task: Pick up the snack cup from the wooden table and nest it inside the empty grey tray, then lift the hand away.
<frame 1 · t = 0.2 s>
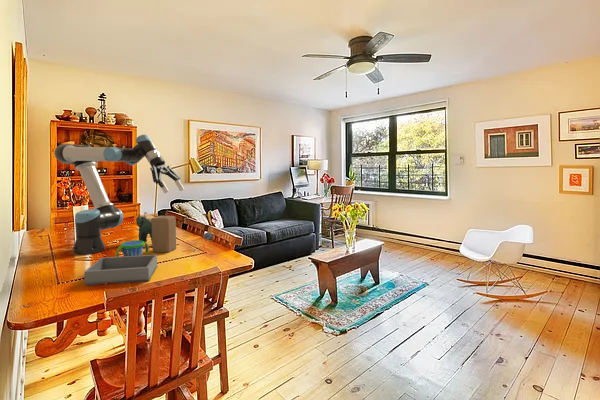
hand: (174, 191, 174), 35 cm above the table, tool tilted 35°, fingers open, 13 cm apart
snack cup: (133, 262, 158), on the table
grey tray: (124, 275, 139), on the table
wooden block: (164, 250, 181), on the table
green animal figurine: (149, 243, 196), on the table
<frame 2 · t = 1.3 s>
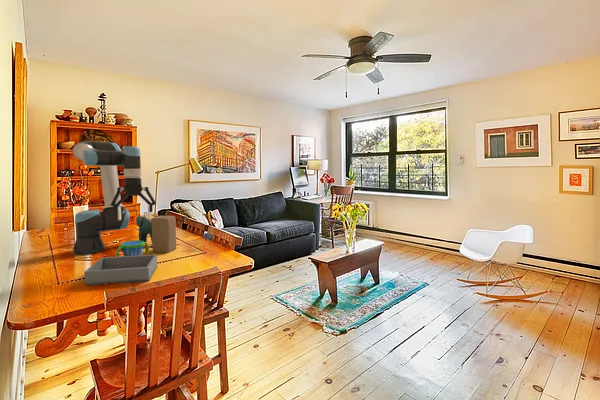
hand: (134, 219, 157), 22 cm above the table, tool pointing down, fingers open, 13 cm apart
nothing on the table moved.
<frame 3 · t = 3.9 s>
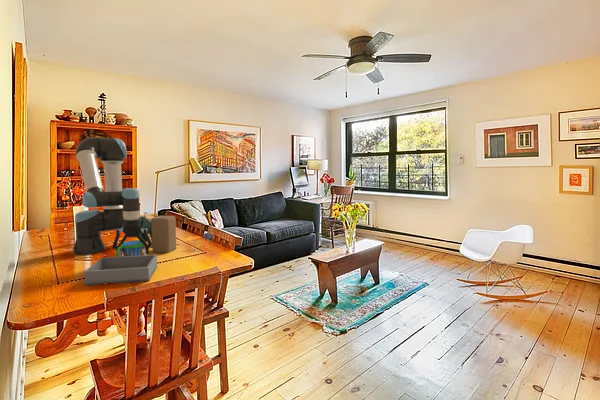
hand: (133, 261, 158), 1 cm above the table, tool pointing down, fingers closed on snack cup, 11 cm apart
snack cup: (133, 262, 158), on the table, touching gripper
everything else where it was.
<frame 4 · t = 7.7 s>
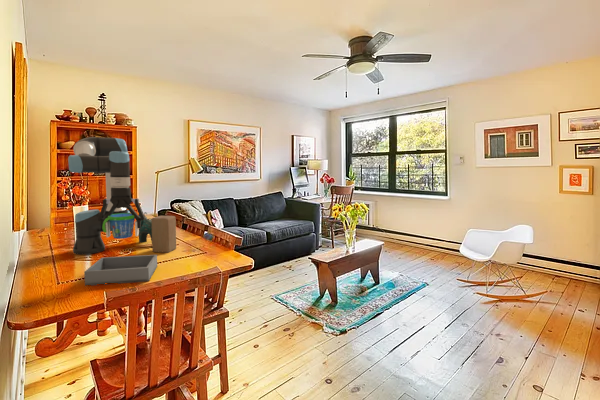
hand: (122, 236, 138), 18 cm above the table, tool pointing down, fingers closed on snack cup, 11 cm apart
snack cup: (122, 237, 138), point 17 cm above the table, touching gripper
everything else where it was.
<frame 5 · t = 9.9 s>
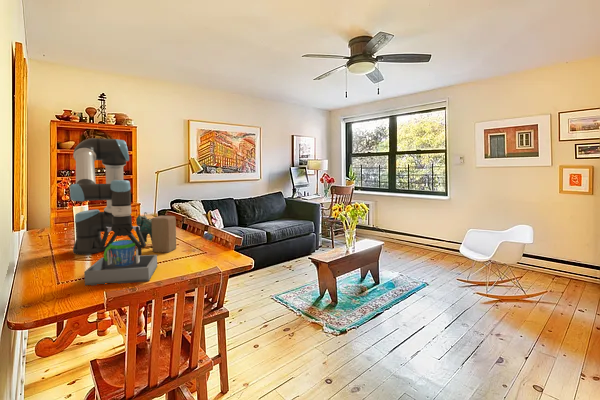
hand: (124, 263, 139), 6 cm above the table, tool pointing down, fingers closed on snack cup, 11 cm apart
snack cup: (123, 264, 139), point 5 cm above the table, touching gripper
everything else where it was.
when the fingers open (3 cm above the table, at t = 11.4 s): snack cup drops 2 cm, resting on grey tray.
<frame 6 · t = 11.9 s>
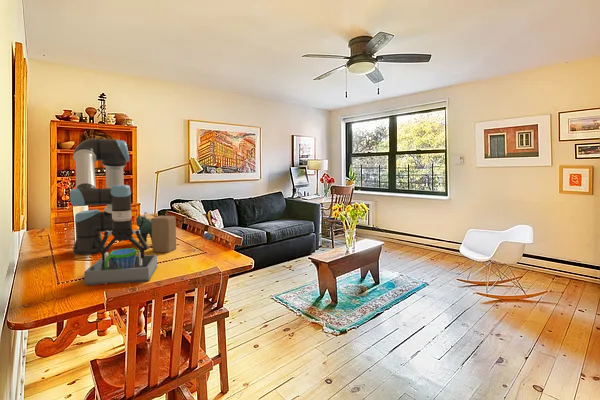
hand: (124, 266, 139), 4 cm above the table, tool pointing down, fingers open, 13 cm apart
snack cup: (124, 273, 139), point 1 cm above the table, touching grey tray
everything else where it was.
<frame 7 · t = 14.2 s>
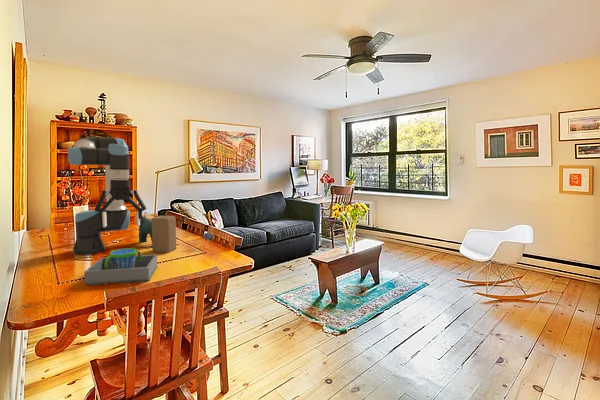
hand: (121, 226, 139), 22 cm above the table, tool pointing down, fingers open, 13 cm apart
nothing on the table moved.
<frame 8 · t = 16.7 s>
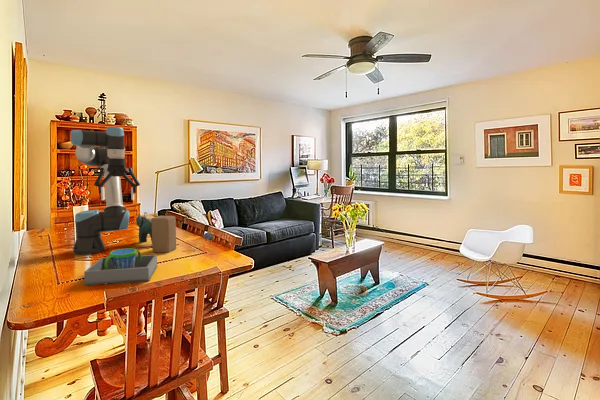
hand: (118, 199, 158), 32 cm above the table, tool pointing down, fingers open, 13 cm apart
nothing on the table moved.
at the end: snack cup inside the target area on the grey tray (0.1 cm from its centre), point 0.8 cm above the grey tray's base; snack cup tilted 0°; the gripper is holding nothing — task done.
